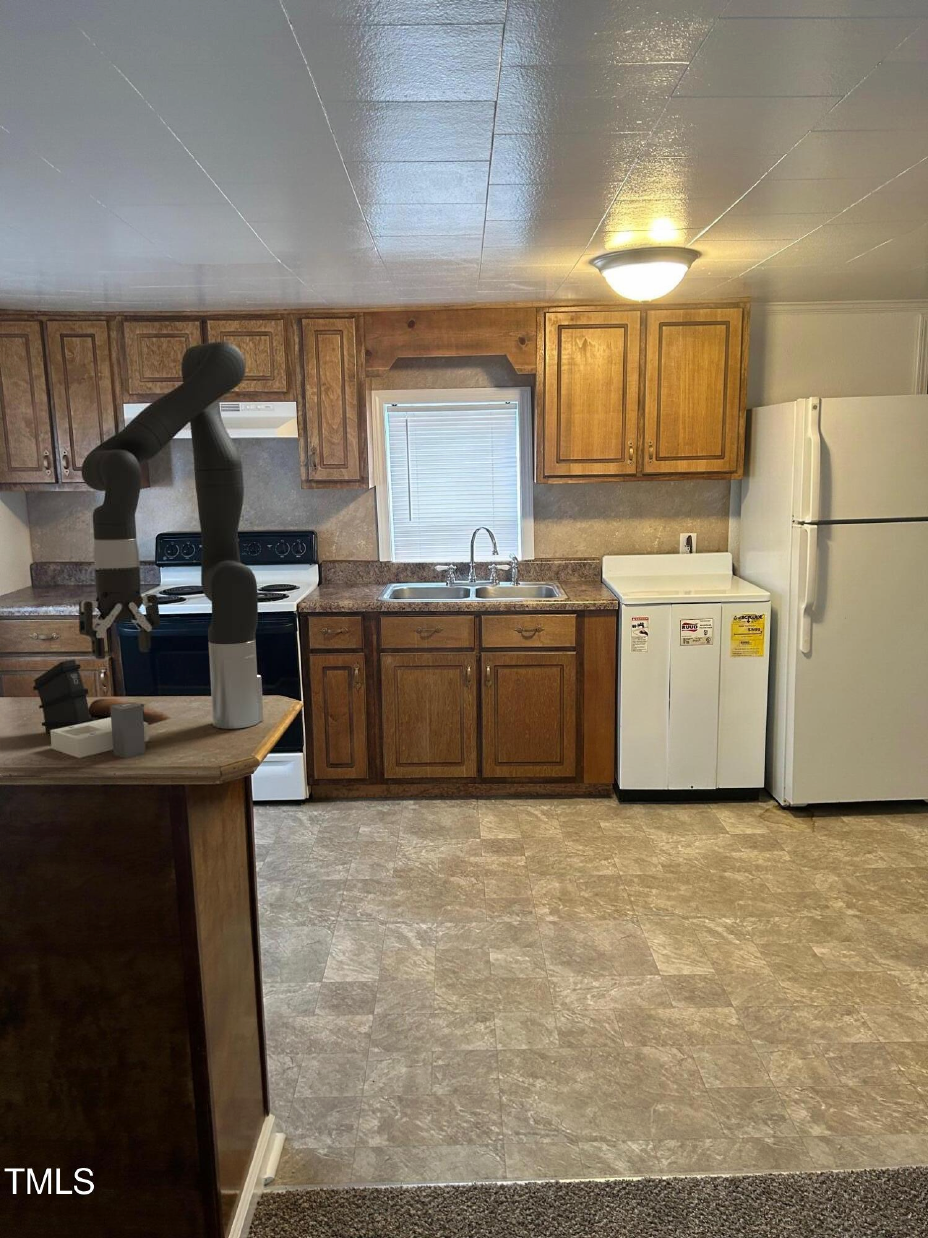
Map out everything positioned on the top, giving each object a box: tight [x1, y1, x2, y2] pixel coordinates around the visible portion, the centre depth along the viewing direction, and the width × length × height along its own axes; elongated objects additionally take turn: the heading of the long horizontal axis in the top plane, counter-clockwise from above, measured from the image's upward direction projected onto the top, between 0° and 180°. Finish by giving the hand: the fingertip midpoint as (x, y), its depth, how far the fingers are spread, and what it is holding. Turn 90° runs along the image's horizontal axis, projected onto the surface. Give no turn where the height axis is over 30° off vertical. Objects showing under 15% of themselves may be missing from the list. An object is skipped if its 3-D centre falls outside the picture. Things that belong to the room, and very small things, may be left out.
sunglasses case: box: [88, 698, 172, 726], centre depth 191 cm, size 18×7×7 cm, turn 58°
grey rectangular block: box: [110, 701, 146, 759], centre depth 163 cm, size 4×4×9 cm
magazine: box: [32, 659, 94, 735], centre depth 177 cm, size 4×13×15 cm, turn 58°
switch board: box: [50, 717, 150, 759], centre depth 170 cm, size 14×10×4 cm
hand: (122, 655), depth 162 cm, fingers open, 8 cm apart
